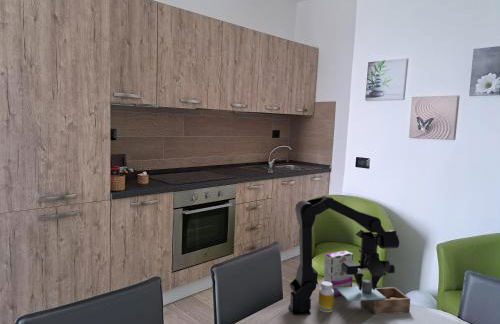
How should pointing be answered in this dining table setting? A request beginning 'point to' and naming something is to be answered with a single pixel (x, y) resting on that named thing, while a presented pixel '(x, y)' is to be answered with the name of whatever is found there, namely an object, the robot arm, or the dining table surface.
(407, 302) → the walnut box
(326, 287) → the supplement bottle
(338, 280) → the candy bar box
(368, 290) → the sliding cover
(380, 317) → the dining table surface
